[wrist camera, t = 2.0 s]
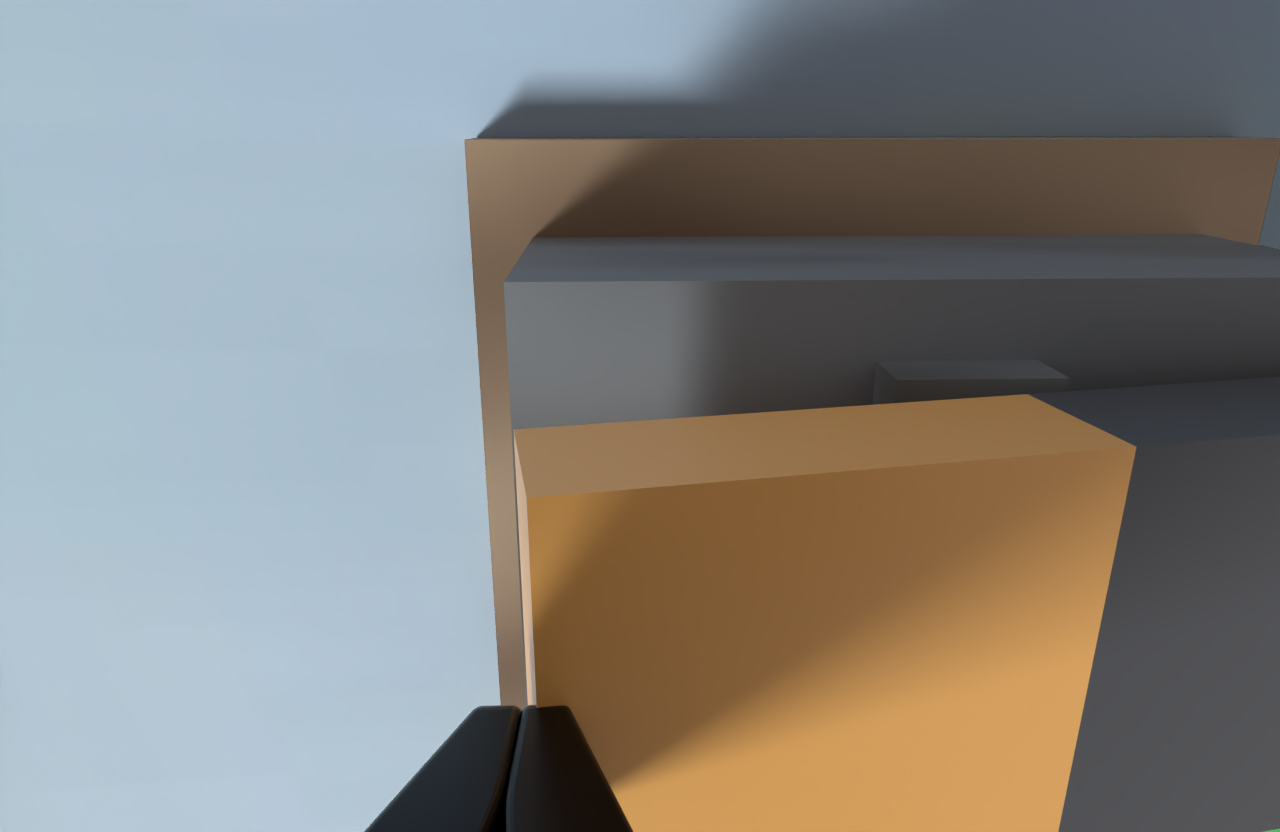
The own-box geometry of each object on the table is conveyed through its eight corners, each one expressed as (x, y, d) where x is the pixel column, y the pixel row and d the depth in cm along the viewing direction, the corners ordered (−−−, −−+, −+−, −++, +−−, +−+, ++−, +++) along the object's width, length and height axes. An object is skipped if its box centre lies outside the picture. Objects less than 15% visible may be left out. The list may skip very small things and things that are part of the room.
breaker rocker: (1436, 366, 10) (1601, 408, 9) (1327, 712, 12) (1451, 796, 10) (513, 429, 8) (526, 497, 7) (534, 838, 10) (548, 966, 8)
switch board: (1048, 1016, 22) (1196, 1322, 16) (528, 1032, 21) (499, 1353, 16) (1239, 137, 15) (1615, 149, 9) (473, 138, 14) (388, 150, 9)
